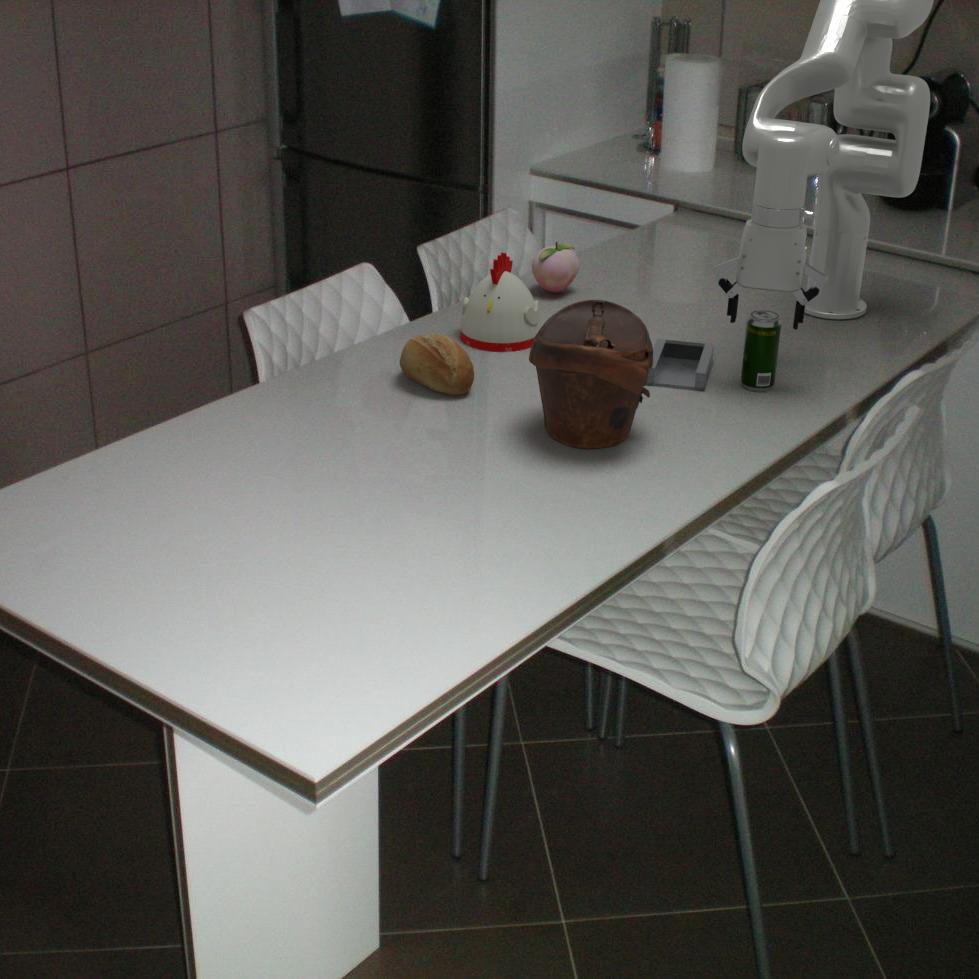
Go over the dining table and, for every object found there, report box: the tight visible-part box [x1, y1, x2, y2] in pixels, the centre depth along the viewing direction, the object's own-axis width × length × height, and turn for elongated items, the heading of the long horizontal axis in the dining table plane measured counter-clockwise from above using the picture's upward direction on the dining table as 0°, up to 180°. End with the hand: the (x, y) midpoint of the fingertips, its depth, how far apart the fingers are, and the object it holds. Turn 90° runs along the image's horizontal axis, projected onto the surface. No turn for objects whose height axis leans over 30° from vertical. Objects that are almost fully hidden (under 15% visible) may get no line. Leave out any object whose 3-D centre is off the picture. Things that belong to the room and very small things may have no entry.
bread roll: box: [398, 333, 475, 396], centre depth 218 cm, size 10×15×8 cm, turn 39°
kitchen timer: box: [460, 252, 542, 353], centre depth 235 cm, size 14×14×15 cm
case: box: [528, 299, 654, 450], centre depth 201 cm, size 18×20×18 cm
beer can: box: [740, 309, 782, 393], centre depth 218 cm, size 5×5×12 cm
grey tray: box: [646, 338, 715, 392], centre depth 225 cm, size 13×10×3 cm
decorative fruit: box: [531, 241, 581, 294], centre depth 257 cm, size 9×8×10 cm
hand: (764, 323), depth 215 cm, fingers open, 9 cm apart
